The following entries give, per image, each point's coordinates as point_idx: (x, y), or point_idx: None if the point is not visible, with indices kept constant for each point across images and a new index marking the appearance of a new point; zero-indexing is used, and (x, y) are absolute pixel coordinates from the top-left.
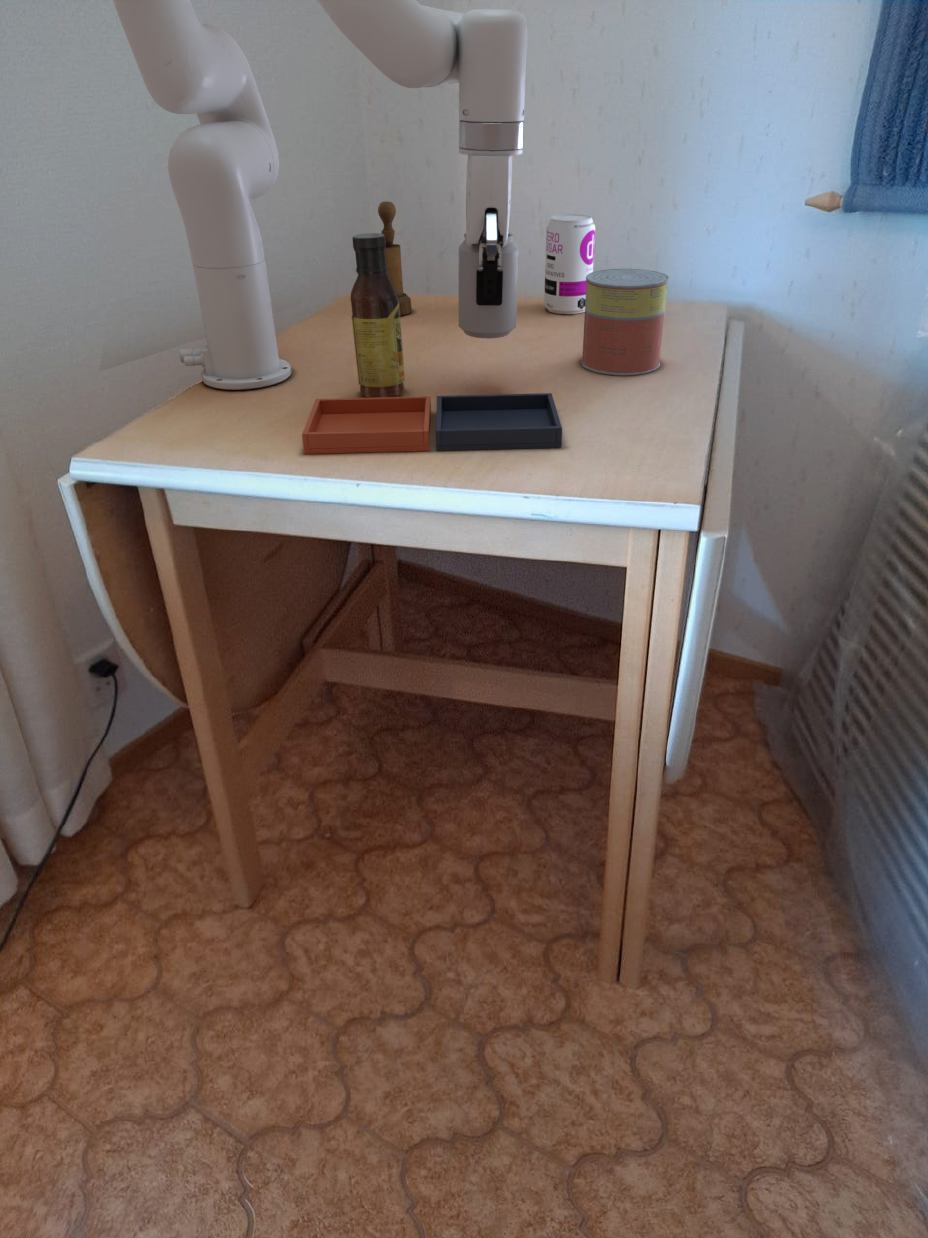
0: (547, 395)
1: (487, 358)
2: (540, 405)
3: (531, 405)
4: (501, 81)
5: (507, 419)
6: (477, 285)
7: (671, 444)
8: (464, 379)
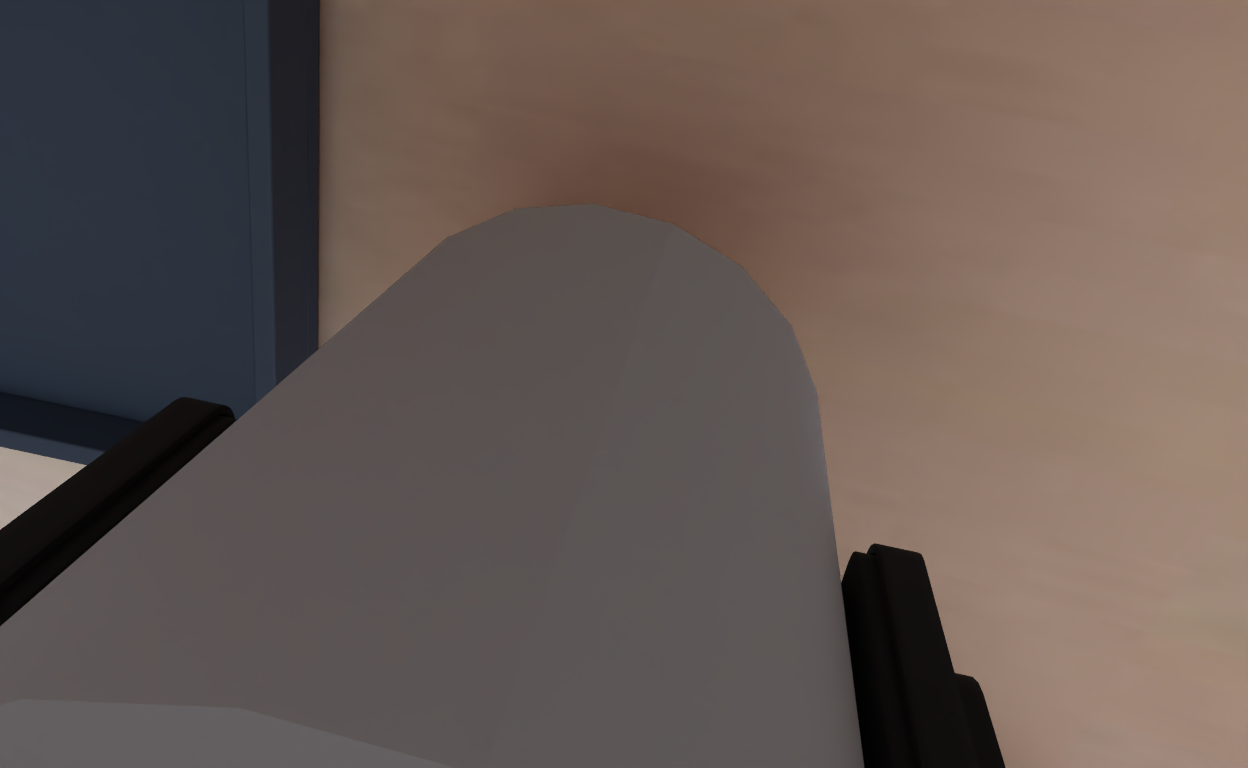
0: None
1: (1242, 409)
2: None
3: None
4: None
5: (159, 258)
6: (49, 500)
7: None
8: (889, 193)
